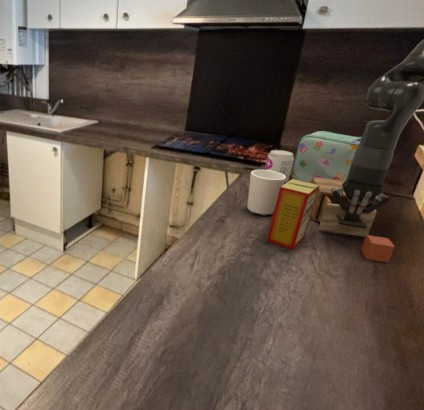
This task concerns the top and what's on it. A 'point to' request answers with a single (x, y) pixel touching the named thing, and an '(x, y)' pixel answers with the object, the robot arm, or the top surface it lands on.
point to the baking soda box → (292, 213)
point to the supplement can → (280, 162)
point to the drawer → (334, 216)
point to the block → (377, 248)
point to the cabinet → (324, 192)
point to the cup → (264, 191)
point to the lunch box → (324, 156)
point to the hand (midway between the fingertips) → (348, 224)
